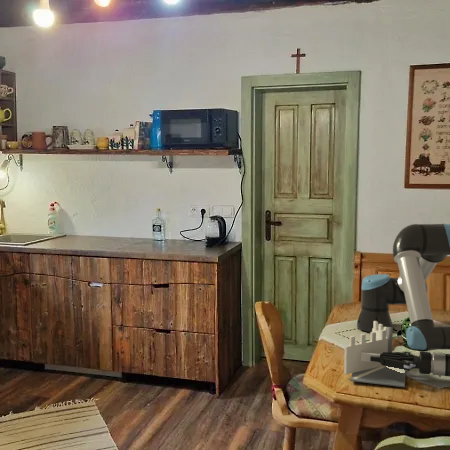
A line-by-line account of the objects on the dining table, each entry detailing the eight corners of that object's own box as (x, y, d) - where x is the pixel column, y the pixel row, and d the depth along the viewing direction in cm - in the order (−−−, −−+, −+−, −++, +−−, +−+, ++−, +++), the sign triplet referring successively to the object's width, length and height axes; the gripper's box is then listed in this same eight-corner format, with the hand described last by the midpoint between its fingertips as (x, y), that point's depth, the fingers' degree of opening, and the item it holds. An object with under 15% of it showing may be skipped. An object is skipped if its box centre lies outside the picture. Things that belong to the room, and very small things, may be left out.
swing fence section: (385, 363, 209) (386, 329, 208) (387, 364, 208) (388, 329, 207) (344, 373, 200) (344, 337, 198) (346, 374, 199) (346, 338, 197)
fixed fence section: (392, 365, 209) (393, 328, 207) (387, 365, 208) (388, 328, 207) (375, 352, 223) (376, 318, 221) (370, 353, 222) (371, 318, 221)
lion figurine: (387, 329, 233) (408, 335, 228) (386, 340, 235) (407, 347, 230) (372, 345, 223) (394, 352, 217) (371, 356, 224) (393, 364, 219)
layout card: (359, 351, 226) (359, 349, 226) (406, 355, 220) (406, 354, 220) (350, 380, 195) (350, 379, 195) (404, 387, 189) (404, 385, 189)
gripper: (431, 380, 187) (359, 372, 195) (430, 367, 200) (362, 360, 207) (432, 359, 187) (359, 351, 194) (431, 347, 199) (362, 340, 206)
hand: (361, 356), depth 201 cm, fingers closed
